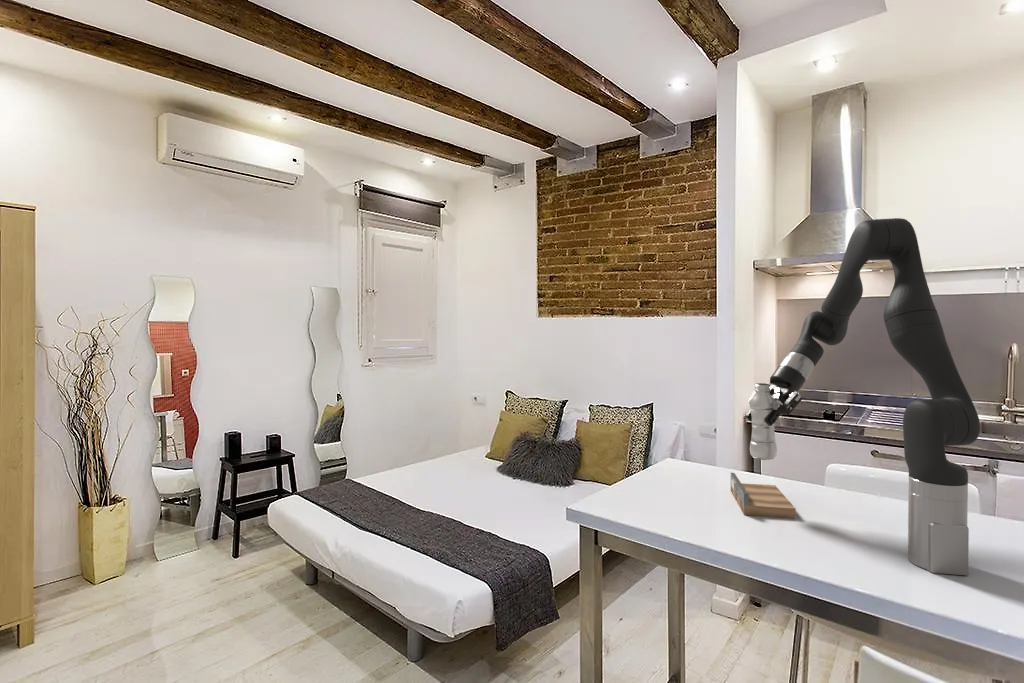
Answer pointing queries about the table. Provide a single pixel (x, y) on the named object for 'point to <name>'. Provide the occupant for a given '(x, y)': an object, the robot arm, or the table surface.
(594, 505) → the table surface
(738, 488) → the rail
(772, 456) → the silver bottle
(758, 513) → the shelf board
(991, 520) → the table surface
